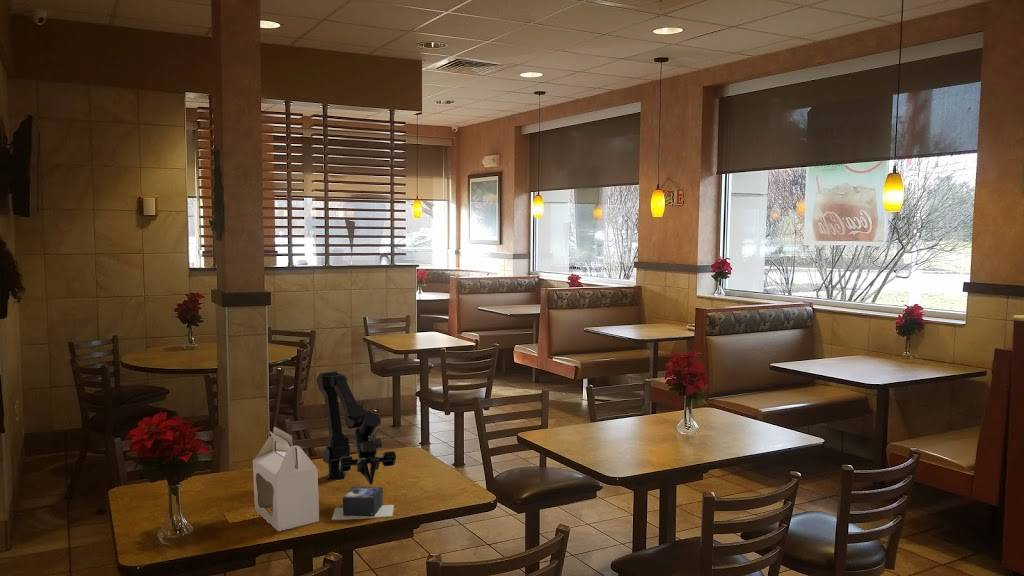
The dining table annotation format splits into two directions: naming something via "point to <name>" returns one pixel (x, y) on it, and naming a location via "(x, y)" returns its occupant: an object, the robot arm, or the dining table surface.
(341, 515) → the mat
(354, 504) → the small box
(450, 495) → the dining table surface
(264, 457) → the gable box
